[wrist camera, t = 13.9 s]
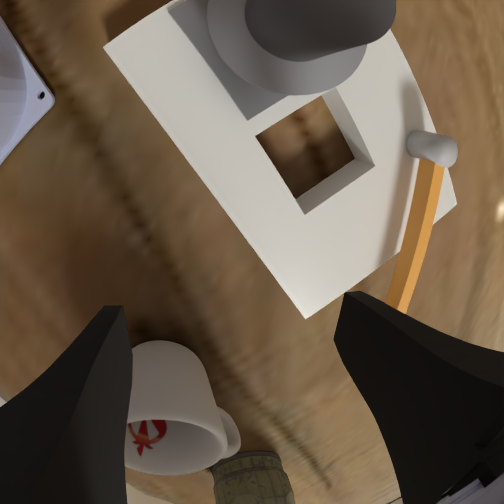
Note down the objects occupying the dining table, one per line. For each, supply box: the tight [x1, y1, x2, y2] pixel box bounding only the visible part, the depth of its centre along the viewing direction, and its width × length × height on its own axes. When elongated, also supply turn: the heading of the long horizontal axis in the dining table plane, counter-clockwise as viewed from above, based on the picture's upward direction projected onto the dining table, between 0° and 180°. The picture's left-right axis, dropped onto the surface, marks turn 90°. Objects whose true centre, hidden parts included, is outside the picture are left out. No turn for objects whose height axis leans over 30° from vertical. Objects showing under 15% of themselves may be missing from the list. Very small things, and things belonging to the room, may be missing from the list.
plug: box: [206, 0, 396, 96], centre depth 10 cm, size 7×7×7 cm
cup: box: [124, 340, 241, 475], centre depth 20 cm, size 11×8×8 cm
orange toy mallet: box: [385, 130, 458, 314], centre depth 18 cm, size 2×13×3 cm, turn 175°
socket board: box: [103, 0, 457, 319], centre depth 17 cm, size 20×14×3 cm
